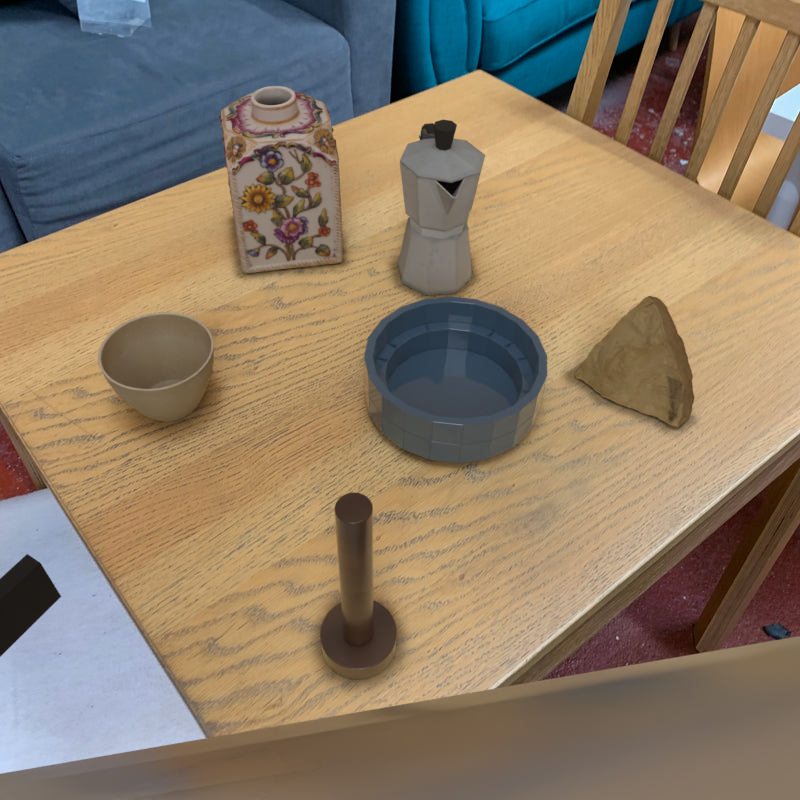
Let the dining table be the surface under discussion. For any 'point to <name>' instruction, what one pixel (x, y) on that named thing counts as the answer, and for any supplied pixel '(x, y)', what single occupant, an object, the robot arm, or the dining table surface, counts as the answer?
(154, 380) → the small beige bowl
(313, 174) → the decorative jar
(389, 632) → the upright rod on disc
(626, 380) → the rock
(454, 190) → the coffee maker
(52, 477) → the dining table surface
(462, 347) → the bowl
